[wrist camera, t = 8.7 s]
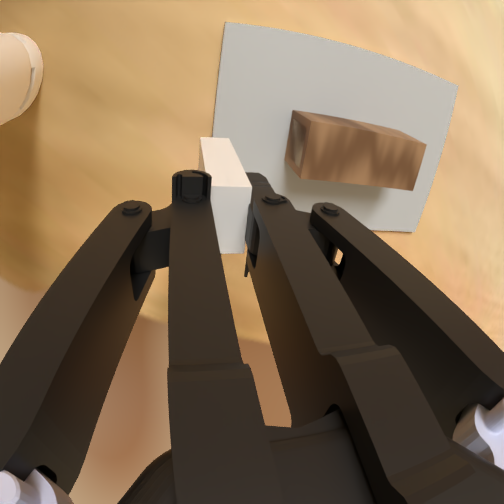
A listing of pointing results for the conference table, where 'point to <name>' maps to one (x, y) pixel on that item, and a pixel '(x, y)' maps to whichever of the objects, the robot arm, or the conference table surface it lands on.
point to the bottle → (18, 74)
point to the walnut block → (352, 152)
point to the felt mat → (327, 103)
